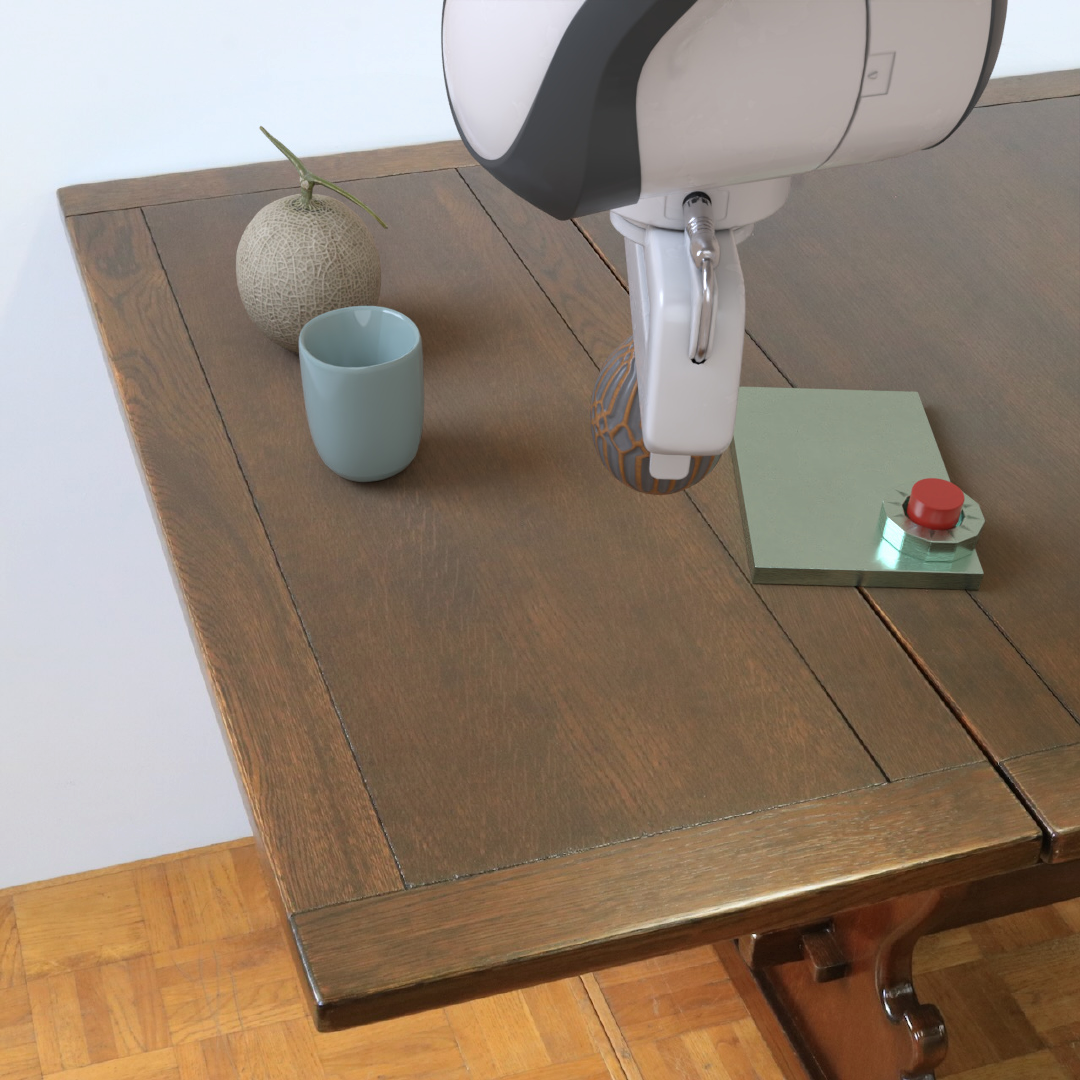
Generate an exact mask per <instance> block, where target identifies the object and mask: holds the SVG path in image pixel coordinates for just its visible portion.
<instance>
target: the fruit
mask: <svg viewBox="0 0 1080 1080" xmlns="http://www.w3.org/2000/svg"><path fill="white" fill-rule="evenodd" d="M258 129H259V130H260V131H261V133H262V134H263V135H264V136H265V137H266V138H267V139H268V140H269V141H270V142H271V143H272V144H273V146H275V147H276V148H277V149H278V151H280V152H281V154H283V155H284V156H285V157H286V158H287V159H288V160H289V162H290V163H291V164H292V165H293V166H294V168H295V169H296V171H297V173H298V176H299V184H300V193H295V194H292V195H287V196H284V197H281V198H278V199H276V200H274V201H272V202H270V203H268V204H266V205H265V206H263V207H262V208H261V209H260V210H259V211H258V212H257V213H256V214H255V215H254V217H253V218H252V219H251V221H249V223H248V224H247V226H246V227H245V230H244V232H243V233H242V235H241V237H240V241H239V243H238V246H237V248H236V254H235V255H236V256H235V277H236V284H237V289H238V292H239V297H240V299H241V302H242V305H243V307H244V309H245V311H246V313H247V316H248V317H249V319H250V320H251V322H252V323H253V324H254V325H255V326H256V328H257V329H258V330H259V332H261V333H262V335H264V336H265V337H266V338H267V339H268V340H270V341H271V342H273V343H274V344H275V345H278V346H279V347H281V348H283V349H285V350H288V351H290V352H294V353H296V354H299V348H298V341H299V335H300V332H301V330H302V329H303V327H304V326H305V324H307V323H308V322H309V321H310V320H312V319H313V318H315V317H317V316H319V315H321V314H324V313H326V312H329V311H333V310H337V309H341V308H346V307H354V306H378V302H379V300H380V296H381V289H382V268H381V259H380V254H379V250H378V247H377V244H376V241H375V236H374V235H373V234H372V233H371V231H370V230H369V228H368V226H367V224H366V223H365V222H364V220H363V219H362V218H361V217H360V216H359V214H357V212H355V211H354V210H352V209H351V208H350V207H349V206H348V205H347V204H345V203H344V202H343V201H341V200H339V199H336V198H335V197H332V196H329V195H325V194H318V193H313V191H314V187H315V185H320V186H323V187H324V188H326V189H329V190H332V191H333V192H336V193H337V194H339V195H341V196H343V197H344V198H346V199H347V200H349V201H351V202H352V203H354V204H355V205H357V206H359V207H360V208H361V209H363V210H364V211H366V212H367V213H368V214H369V215H370V216H371V217H372V218H373V219H375V220H376V221H377V222H378V223H379V225H380V226H381V227H382V228H383V229H385V230H387V229H388V228H389V225H388V224H387V223H386V222H385V221H384V220H383V219H382V218H381V217H380V216H379V215H378V214H377V213H376V212H374V210H372V209H371V208H370V207H369V206H368V205H366V204H365V203H364V202H362V200H360V199H359V198H358V197H356V196H354V195H353V194H351V193H350V192H348V191H346V190H345V189H343V188H341V187H340V186H338V185H336V184H335V183H333V182H330V181H328V180H326V179H324V178H322V177H320V176H318V175H316V174H315V173H313V172H312V171H310V170H309V169H308V168H306V166H305V165H304V163H303V162H302V160H300V159H299V157H297V155H295V154H294V153H293V152H292V151H291V150H290V149H289V148H288V147H287V146H286V145H284V144H283V143H282V142H281V141H280V140H278V139H277V138H276V137H274V136H273V135H272V134H271V133H270V132H269V131H268V130H267V129H266V128H265V127H264V126H262V125H260V126H259V127H258ZM388 230H389V229H388Z"/></svg>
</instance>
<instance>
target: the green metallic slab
mask: <svg viewBox="0 0 1080 1080" xmlns="http://www.w3.org/2000/svg"><path fill="white" fill-rule="evenodd" d="M729 446H730V452H731V458H732V466H733V470H734V471H733V472H734V478H735V484H736V491H737V495H738V496H737V497H738V504H739V509H740V516H741V521H742V528H743V534H744V541H745V545H746V546H745V547H746V552H747V559H748V566H749V572H750V578H751V583H752V584H761V585H762V584H766V585H769V584H770V585H794V586H795V585H797V586H826V587H827V586H831V587H832V586H833V587H865V588H895V589H896V588H898V589H900V588H901V589H929V590H930V589H931V590H932V589H933V590H934V589H936V590H964V591H965V590H969V591H979V590H980V587H981V584H982V581H983V578H984V574H985V573H984V570H983V567H982V565H981V562H980V558H979V555H978V553H977V550H976V547H977V545H978V543H979V541H980V539H981V536H982V533H983V530H984V526H985V523H986V520H985V516H984V514H983V511H982V509H981V506H980V504H979V503H978V502H977V501H975V500H974V499H973V498H972V497H971V496H969V495H968V494H967V493H965V492H964V491H963V490H962V492H963V494H964V497H965V500H964V504H963V507H962V511H961V514H960V518H959V521H958V523H957V525H956V526H955V527H953V528H952V529H949V530H932V529H929V528H926V527H923V526H920V525H917V524H915V523H914V522H913V521H911V520H910V519H909V517H908V515H907V506H908V502H909V498H910V495H911V491H912V487H913V485H914V484H915V483H916V482H918V481H920V480H922V479H927V478H937V479H943V480H946V481H949V482H951V479H950V476H949V474H948V471H947V468H946V465H945V462H944V459H943V457H942V454H941V451H940V449H939V446H938V443H937V441H936V438H935V434H934V431H933V429H932V427H931V424H930V421H929V418H928V416H927V413H926V410H925V407H924V405H923V402H922V399H921V397H920V394H919V392H918V391H911V390H908V391H907V390H905V391H904V390H873V389H840V388H839V389H838V388H809V387H807V388H806V387H805V388H804V387H774V386H772V387H771V386H742V385H741V386H740V385H739V394H738V403H737V412H736V420H735V429H734V434H733V438H732V441H731V443H730V445H729Z"/></svg>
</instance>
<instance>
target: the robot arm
mask: <svg viewBox="0 0 1080 1080" xmlns="http://www.w3.org/2000/svg"><path fill="white" fill-rule="evenodd" d="M442 1H443V2H442V10H441V23H440V24H441V25H440V26H441V27H440V29H441V30H440V44H441V45H440V48H441V63H442V72H443V79H444V85H445V87H444V88H445V91H446V96H447V101H448V105H449V108H450V113H451V116H452V119H453V123H454V125H455V127H456V129H457V130H456V131H457V132H458V135H459V137H460V140H461V142H462V143H463V145H464V147H465V148H466V150H467V152H468V153H469V154H470V155H471V157H472V158H473V159H474V160H475V161H476V162H477V163H478V164H479V165H480V166H481V167H482V168H483V169H484V170H485V171H487V172H488V173H489V174H490V175H491V176H492V177H493V178H494V179H496V180H497V181H498V182H499V183H500V184H501V185H503V186H504V187H506V188H507V189H508V190H510V191H511V192H513V194H515V195H516V196H518V197H520V198H521V199H523V200H525V201H526V202H527V203H529V204H530V205H532V206H533V207H535V208H537V209H538V210H539V211H542V212H543V213H545V214H547V215H548V216H551V217H553V218H554V219H556V220H557V221H560V222H563V221H565V222H566V221H569V220H574V219H578V218H583V217H586V216H590V215H594V214H599V213H603V212H607V211H609V220H610V222H611V224H612V226H613V228H615V230H616V231H617V232H618V233H619V234H620V235H621V236H622V237H623V240H624V249H625V261H626V262H625V263H626V273H627V281H628V282H627V283H628V291H629V292H628V293H629V294H628V295H629V304H630V314H631V315H630V316H631V327H632V333H633V338H634V349H635V360H636V371H637V382H638V393H639V404H640V414H641V425H642V435H643V442H644V445H645V447H646V449H647V450H648V456H649V470H650V474H651V476H652V477H654V478H656V479H674V480H679V479H683V478H685V477H686V476H687V475H688V473H689V467H690V459H691V456H713V455H720V454H722V453H723V454H724V453H725V452H726V451H727V450H728V448H729V446H730V443H731V441H732V438H733V434H734V429H735V420H736V412H737V403H738V394H739V386H740V385H741V384H740V383H741V374H742V363H743V356H744V355H743V354H744V345H745V332H746V331H745V330H746V286H745V278H744V274H743V269H742V264H741V260H740V255H739V251H738V245H741V244H742V243H743V242H744V241H746V240H747V239H748V238H749V237H750V236H751V235H752V233H753V232H754V230H755V225H756V223H758V222H760V221H763V220H765V219H767V218H769V217H771V216H773V215H774V214H775V213H777V212H778V211H779V210H780V209H781V208H782V207H783V206H784V205H785V203H787V200H788V199H789V195H790V190H791V186H792V185H791V184H792V177H797V176H803V175H806V174H810V173H815V172H822V171H823V172H824V171H830V170H836V169H843V168H849V167H854V166H861V165H866V164H873V163H878V162H883V161H887V160H892V159H899V158H903V157H905V156H909V155H910V154H914V153H917V152H919V151H926V150H931V149H933V148H936V147H938V146H940V145H941V144H943V143H944V142H946V141H947V140H948V139H949V138H950V137H952V135H954V133H955V132H956V131H957V130H958V129H959V128H960V127H961V126H962V124H963V123H964V122H965V121H966V120H967V119H968V117H969V115H970V114H971V113H972V112H973V110H974V109H975V107H976V105H977V104H978V102H979V101H980V99H981V97H982V95H983V94H984V91H985V90H986V88H987V86H988V84H989V81H990V79H991V77H992V74H993V71H994V69H995V66H996V63H997V61H998V58H999V54H1000V51H1001V48H1002V47H1001V46H1002V43H1003V39H1004V33H1005V32H1004V31H1005V27H1006V25H1005V24H1006V20H1007V13H1008V5H1009V4H1008V3H1009V0H442ZM723 454H722V455H723Z"/></svg>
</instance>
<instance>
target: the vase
mask: <svg viewBox="0 0 1080 1080" xmlns="http://www.w3.org/2000/svg"><path fill="white" fill-rule="evenodd" d="M592 388H593V389H592V392H591V398H590V406H589V422H590V423H589V424H590V425H589V426H590V434H591V438H592V442H593V445H594V448H595V451H596V453H597V455H598V457H599V460H600V461H601V464H602V465H603V466H604V467H605V469H606V470H607V471H608V472H609V473H610V474H611V475H612V476H613V477H614V478H615V479H616V480H618V481H619V482H620V483H621V484H623V485H625V486H626V487H628V488H629V489H631V490H633V491H635V492H639V493H642V494H646V495H650V496H651V495H652V496H667V495H673V494H677V493H680V492H682V491H685V490H687V489H689V488H691V487H693V486H695V485H696V484H698V483H699V482H701V481H702V480H703V479H705V478H706V477H707V476H709V474H710V473H711V472H712V471H713V470H714V469H715V467H716V466H717V464H718V463H719V462H720V460H721V458H722V456H723V454H724V453H722V454H720V455H713V456H691V459H690V467H689V473H688V475H687V476H686V477H685V478H683V479H679V480H674V479H656V478H654V477H652V476H651V474H650V470H649V456H648V450H647V449H646V447H645V445H644V442H643V435H642V425H641V414H640V404H639V393H638V382H637V371H636V360H635V349H634V338H633V332H632V333H631V334H630V335H629V336H628V337H626V338H625V339H624V340H623V341H621V343H620V344H618V345H617V346H616V347H615V349H613V350H612V351H611V353H610V354H609V355H608V357H607V358H606V359H605V361H604V362H603V364H602V365H601V368H600V370H599V373H598V375H597V377H596V379H595V382H594V385H593V387H592Z"/></svg>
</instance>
